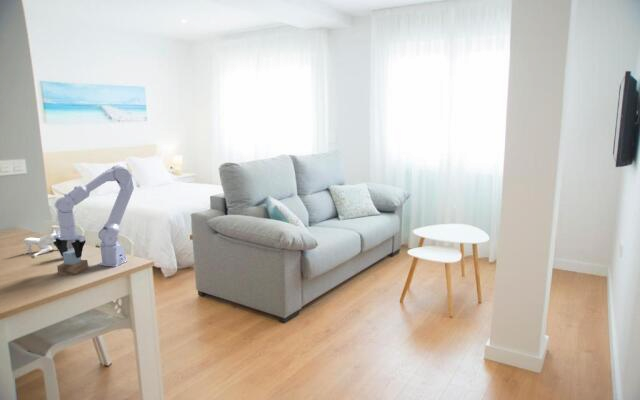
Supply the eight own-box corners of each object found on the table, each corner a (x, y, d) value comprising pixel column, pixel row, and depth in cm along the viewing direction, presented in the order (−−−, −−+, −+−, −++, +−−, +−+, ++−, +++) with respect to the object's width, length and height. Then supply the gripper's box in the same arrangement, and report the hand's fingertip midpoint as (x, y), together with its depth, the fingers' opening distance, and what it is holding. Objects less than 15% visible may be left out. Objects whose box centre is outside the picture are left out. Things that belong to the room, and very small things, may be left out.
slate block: (81, 261, 184) (79, 250, 183) (72, 265, 180) (71, 253, 179) (72, 260, 185) (71, 249, 184) (64, 264, 181) (62, 252, 180)
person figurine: (24, 236, 200) (63, 222, 213) (15, 238, 208) (53, 224, 221) (36, 262, 202) (74, 246, 216) (26, 262, 210) (63, 247, 224)
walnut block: (88, 268, 186) (87, 259, 186) (76, 275, 179) (74, 266, 178) (71, 268, 187) (70, 259, 187) (58, 275, 180) (57, 265, 179)
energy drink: (68, 255, 205) (65, 231, 203) (80, 254, 205) (77, 230, 203) (63, 258, 200) (59, 234, 198) (75, 258, 200) (71, 233, 198)
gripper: (45, 227, 177) (49, 258, 180) (73, 228, 174) (77, 260, 176) (59, 223, 184) (63, 253, 187) (87, 224, 180) (91, 255, 183)
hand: (71, 256), depth 182 cm, fingers open, 7 cm apart
